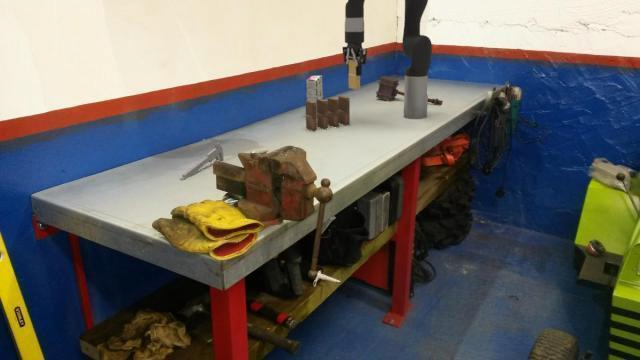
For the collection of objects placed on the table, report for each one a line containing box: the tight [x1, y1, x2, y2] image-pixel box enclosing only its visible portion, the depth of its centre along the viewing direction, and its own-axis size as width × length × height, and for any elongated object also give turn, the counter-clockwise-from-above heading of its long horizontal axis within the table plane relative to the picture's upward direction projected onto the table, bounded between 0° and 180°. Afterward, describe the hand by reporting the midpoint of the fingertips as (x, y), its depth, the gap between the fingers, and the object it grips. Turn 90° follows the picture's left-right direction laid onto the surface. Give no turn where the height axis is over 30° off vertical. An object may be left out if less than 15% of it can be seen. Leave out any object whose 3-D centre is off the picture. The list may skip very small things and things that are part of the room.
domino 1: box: [304, 100, 318, 132], centre depth 196 cm, size 2×5×11 cm, turn 30°
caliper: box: [179, 142, 225, 181], centre depth 154 cm, size 20×1×6 cm, turn 155°
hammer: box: [375, 75, 444, 106], centre depth 241 cm, size 7×33×10 cm, turn 56°
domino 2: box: [317, 98, 329, 130], centre depth 198 cm, size 2×5×11 cm, turn 30°
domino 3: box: [326, 96, 340, 128], centre depth 200 cm, size 2×5×11 cm, turn 30°
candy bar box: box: [305, 75, 324, 109], centre depth 217 cm, size 11×5×16 cm, turn 168°
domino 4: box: [337, 95, 351, 127], centre depth 203 cm, size 2×5×11 cm, turn 30°
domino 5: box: [348, 59, 361, 90], centre depth 200 cm, size 2×5×11 cm, turn 30°
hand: (354, 74), depth 200 cm, fingers closed on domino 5, 5 cm apart
